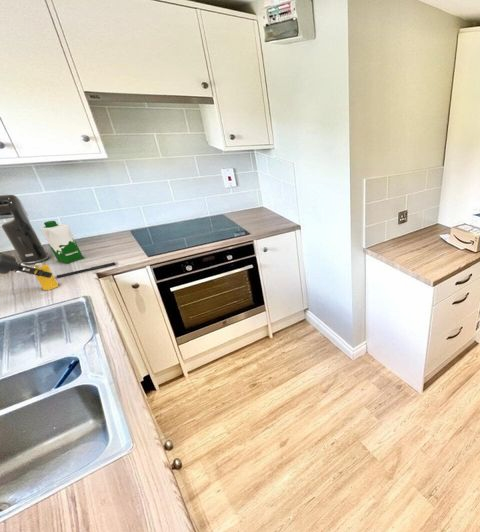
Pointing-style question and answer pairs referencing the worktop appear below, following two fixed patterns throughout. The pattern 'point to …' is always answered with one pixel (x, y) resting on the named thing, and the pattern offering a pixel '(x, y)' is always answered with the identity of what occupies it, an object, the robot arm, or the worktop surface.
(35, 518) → the worktop surface
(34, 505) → the worktop surface
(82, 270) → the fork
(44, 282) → the mustard bottle
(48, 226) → the milk carton
